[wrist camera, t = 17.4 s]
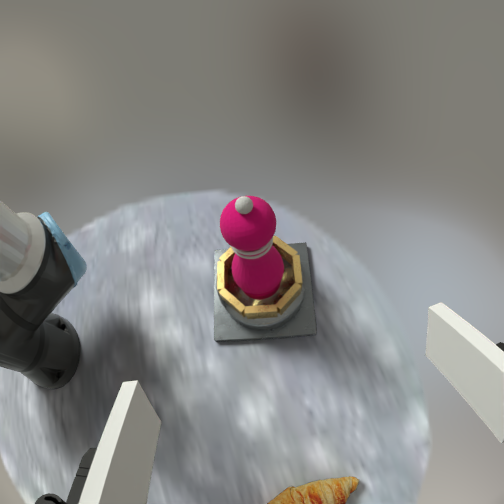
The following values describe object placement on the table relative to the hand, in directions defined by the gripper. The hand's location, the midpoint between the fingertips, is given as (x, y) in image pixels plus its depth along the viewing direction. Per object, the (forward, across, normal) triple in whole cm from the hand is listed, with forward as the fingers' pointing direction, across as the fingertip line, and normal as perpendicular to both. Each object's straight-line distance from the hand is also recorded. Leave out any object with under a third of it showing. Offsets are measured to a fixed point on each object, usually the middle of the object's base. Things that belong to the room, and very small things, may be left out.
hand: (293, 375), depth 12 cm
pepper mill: (+34, 0, -9) cm, 35 cm away
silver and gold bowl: (+38, 0, -13) cm, 40 cm away
